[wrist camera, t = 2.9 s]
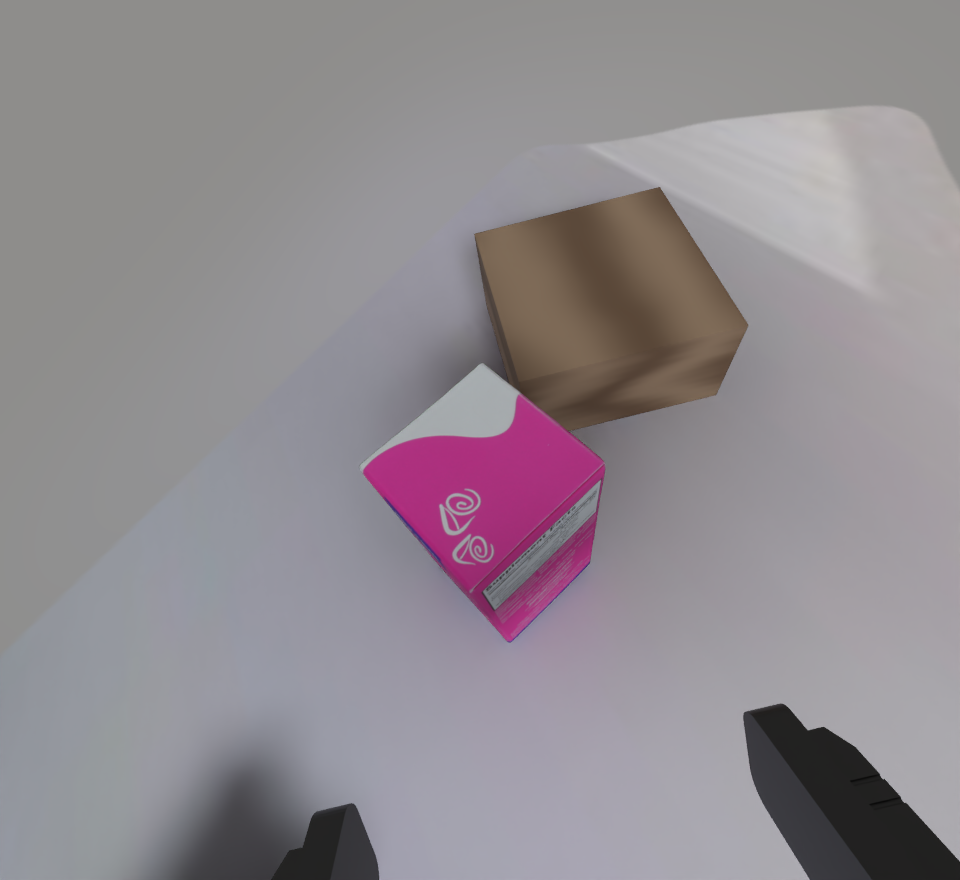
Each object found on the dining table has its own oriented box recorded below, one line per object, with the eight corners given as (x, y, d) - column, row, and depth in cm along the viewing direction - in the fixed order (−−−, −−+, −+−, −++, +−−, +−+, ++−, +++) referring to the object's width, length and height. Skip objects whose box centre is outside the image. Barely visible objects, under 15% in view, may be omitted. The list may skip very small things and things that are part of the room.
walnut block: (526, 443, 29) (519, 381, 24) (487, 307, 35) (474, 233, 29) (714, 397, 29) (748, 325, 24) (644, 268, 34) (659, 187, 29)
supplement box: (429, 561, 26) (350, 460, 16) (513, 486, 28) (486, 351, 18) (507, 650, 24) (468, 594, 14) (594, 563, 25) (617, 454, 15)
